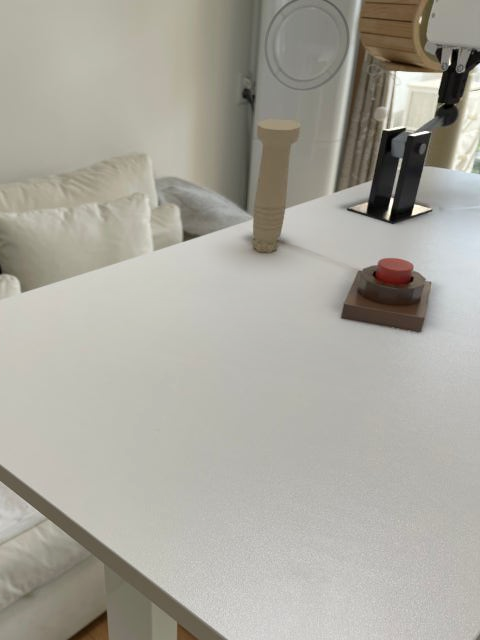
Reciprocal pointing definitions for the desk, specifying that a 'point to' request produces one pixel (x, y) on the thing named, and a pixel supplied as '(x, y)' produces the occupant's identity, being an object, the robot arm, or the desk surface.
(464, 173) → the desk surface
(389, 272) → the button
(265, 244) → the handle
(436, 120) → the lever
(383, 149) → the bracket
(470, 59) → the robot arm
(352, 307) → the button block
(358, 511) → the desk surface
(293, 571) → the desk surface
